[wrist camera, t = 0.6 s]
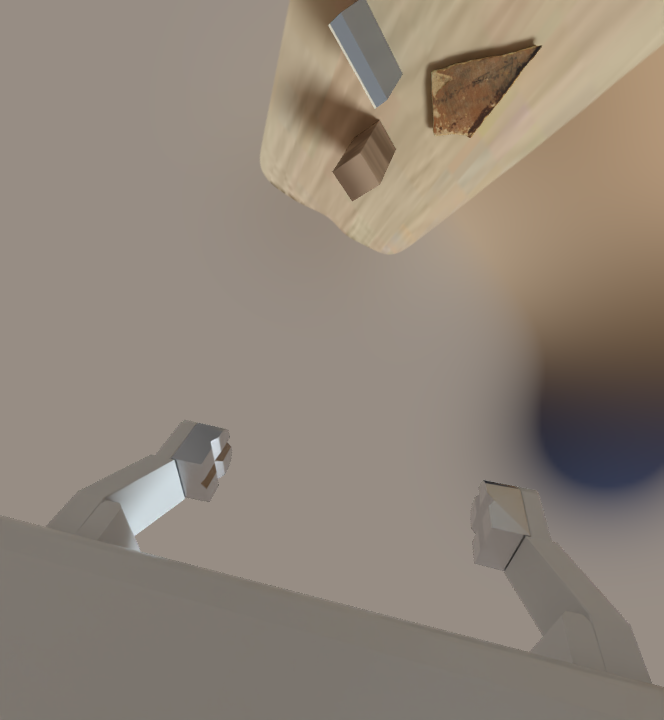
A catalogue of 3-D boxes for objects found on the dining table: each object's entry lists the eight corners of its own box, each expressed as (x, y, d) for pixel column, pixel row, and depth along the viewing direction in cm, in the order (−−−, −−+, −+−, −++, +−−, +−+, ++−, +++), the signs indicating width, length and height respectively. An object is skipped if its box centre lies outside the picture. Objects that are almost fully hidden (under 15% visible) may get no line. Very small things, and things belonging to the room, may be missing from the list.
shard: (541, 41, 39) (542, 46, 38) (531, 124, 45) (532, 130, 44) (431, 65, 43) (429, 70, 42) (435, 139, 49) (433, 145, 47)
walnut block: (379, 119, 48) (360, 152, 42) (395, 149, 50) (379, 184, 44) (354, 138, 51) (332, 171, 45) (370, 165, 53) (352, 201, 47)
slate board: (364, -4, 40) (340, 12, 35) (402, 73, 44) (387, 99, 39) (352, 7, 41) (328, 25, 36) (391, 82, 45) (374, 108, 40)
